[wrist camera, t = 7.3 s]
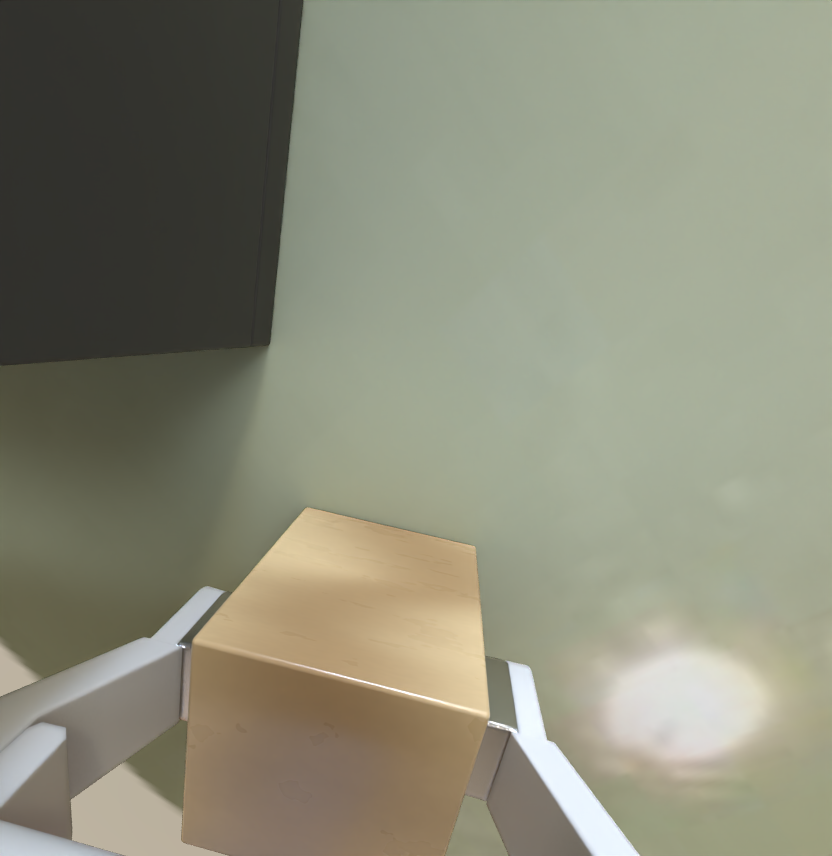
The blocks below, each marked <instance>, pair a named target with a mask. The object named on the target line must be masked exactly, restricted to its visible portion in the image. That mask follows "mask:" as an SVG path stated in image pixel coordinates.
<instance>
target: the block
mask: <svg viewBox="0 0 832 856" xmlns="http://www.w3.org/2000/svg"><path fill="white" fill-rule="evenodd" d="M489 718H490V708H489V697H488V685H487V673H486V662H485V650H484V638H483V627H482V615H481V603H480V592H479V580H478V568H477V556H476V547H474V546H472V545H467V544H463V543H459V542H455V541H450V540H446V539H442V538H437V537H433V536H429V535H425V534H420V533H416V532H412V531H407V530H403V529H399V528H395V527H390V526H386V525H382V524H377V523H373V522H369V521H365V520H360V519H356V518H352V517H347V516H343V515H339V514H335V513H330V512H326V511H322V510H317V509H313V508H309V507H306V508H305V509H304V510H303V511H302V512H301V514H300V515H299V516H298V517H297V518H296V519H295V521H294V522H293V523H292V524H291V525H290V526H289V528H288V529H287V530H286V531H285V532H284V533H283V535H282V536H281V537H280V538H279V539H278V540H277V542H276V543H275V544H274V545H273V546H272V547H271V549H270V550H269V551H268V552H267V553H266V554H265V556H264V557H263V558H262V559H261V560H260V561H259V563H258V564H257V565H256V566H255V567H254V568H253V570H252V571H251V572H250V573H249V574H248V575H247V577H246V578H245V579H244V580H243V581H242V582H241V584H240V585H239V586H238V587H237V588H236V589H235V591H234V592H233V593H232V594H231V595H230V596H229V598H228V599H227V600H226V601H225V602H224V603H223V604H222V606H221V607H220V608H219V609H218V610H217V611H216V613H215V614H214V615H213V616H212V617H211V618H210V620H209V621H208V622H207V623H206V624H205V625H204V627H203V628H202V629H201V630H200V631H199V632H198V634H197V635H196V636H195V637H194V639H193V641H192V648H191V667H190V685H189V704H188V723H187V741H186V760H185V779H184V797H183V816H182V835H181V840H182V842H184V843H186V844H190V845H194V846H197V847H201V848H205V849H208V850H211V851H215V852H218V853H222V854H225V855H229V856H445V854H446V850H447V847H448V844H449V841H450V838H451V835H452V832H453V829H454V826H455V823H456V820H457V817H458V813H459V810H460V807H461V804H462V801H463V798H464V795H465V792H466V789H467V786H468V783H469V779H470V776H471V773H472V770H473V767H474V764H475V761H476V758H477V755H478V752H479V749H480V746H481V742H482V739H483V736H484V733H485V730H486V727H487V724H488V721H489Z"/></svg>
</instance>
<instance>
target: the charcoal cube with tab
mask: <svg viewBox="0 0 832 856" xmlns="http://www.w3.org/2000/svg"><path fill="white" fill-rule="evenodd" d="M302 4H303V0H0V366H5V365H18V364H31V363H44V362H58V361H71V360H84V359H97V358H110V357H124V356H137V355H150V354H163V353H176V352H190V351H203V350H216V349H229V348H242V347H252V346H265V345H269V343H270V335H271V325H272V314H273V304H274V294H275V283H276V273H277V263H278V252H279V242H280V232H281V221H282V211H283V201H284V190H285V180H286V170H287V159H288V149H289V139H290V128H291V118H292V107H293V97H294V87H295V76H296V66H297V56H298V45H299V35H300V25H301V14H302Z"/></svg>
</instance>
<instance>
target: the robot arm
mask: <svg viewBox="0 0 832 856" xmlns="http://www.w3.org/2000/svg"><path fill="white" fill-rule="evenodd" d="M231 594H232V592H229V591H227V592H226V591H223V590H219V589H216V588H212V587H209V586H206V587H203V588H201V589H200V590H199V591H198V592H196V593H195V594H194V595H193V596H192V597H191V598H190V599H189V600H188V601H187V602H186V603H185V604H184V605H183V606H182V607H181V608H180V609H179V610H178V611H177V612H176V613H175V614H174V615H173V616H172V617H171V618H170V619H169V620H168V621H167V622H166V623H165V624H164V625H163V626H162V627H161V628H160V629H159V630H158V631H157V632H156V633H155V634H154V635H153V636H152V637H151V638H146V637H142V638H140V639H137V640H135V641H133V642H130V643H128V644H125V645H123V646H121V647H118V648H116V649H113V650H111V651H109V652H106V653H104V654H101V655H99V656H97V657H94V658H92V659H90V660H87V661H85V662H82V663H80V664H78V665H75V666H73V667H70V668H68V669H66V670H63V671H61V672H58V673H56V674H54V675H51V676H49V677H46V678H44V679H42V680H39V681H37V682H34V683H32V684H30V685H27V686H25V687H23V688H20V689H18V690H15V691H13V692H11V693H8V694H6V695H3V696H1V697H0V856H124V855H120V854H117V853H113V852H110V851H107V850H103V849H100V848H96V847H93V846H89V845H86V844H82V843H79V842H75V841H72V818H71V802H70V800H71V799H72V798H74V797H75V796H76V795H78V794H79V793H80V792H82V791H83V790H85V789H86V788H88V787H89V786H90V785H92V784H93V783H95V782H96V781H97V780H99V779H100V778H101V777H103V776H104V775H106V774H107V773H109V772H110V771H111V770H113V769H114V768H116V767H117V766H118V765H120V764H121V763H123V762H124V761H125V760H127V759H128V758H129V757H131V756H132V755H134V754H135V753H136V752H138V751H139V750H141V749H142V748H143V747H145V746H146V745H148V744H149V743H150V742H152V741H153V740H155V739H156V738H157V737H159V736H160V735H162V734H163V733H164V732H166V731H167V730H169V729H170V728H171V727H173V726H174V725H175V724H177V723H178V722H179V719H181V720H185V721H188V704H189V685H190V667H191V648H192V641H193V639H194V637H195V636H196V635H197V634H198V632H199V631H200V630H201V629H202V628H203V627H204V625H205V624H206V623H207V622H208V621H209V620H210V618H211V617H212V616H213V615H214V614H215V613H216V611H217V610H218V609H219V608H220V607H221V606H222V604H223V603H224V602H225V601H226V600H227V599H228V598H229V596H230V595H231ZM485 662H486V673H487V685H488V697H489V708H490V718H489V721H488V724H487V727H486V730H485V733H484V736H483V739H482V742H481V746H480V749H479V752H478V755H477V758H476V761H475V764H474V767H473V770H472V773H471V776H470V779H469V783H468V786H467V789H466V792H465V795H467V796H471V797H474V798H477V799H481V800H484V801H487V803H486V805H487V807H488V809H489V811H490V814H491V816H492V818H493V820H494V823H495V825H496V827H497V829H498V832H499V834H500V836H501V838H502V841H503V843H504V845H505V848H506V850H507V852H508V854H509V856H640V855H639V854H638V852H637V851H636V850H635V848H634V847H633V846H632V844H631V843H630V842H629V840H628V839H627V838H626V836H625V835H624V834H623V832H622V831H621V830H620V829H619V827H618V826H617V825H616V823H615V822H614V821H613V819H612V818H611V817H610V815H609V814H608V813H607V811H606V810H605V809H604V807H603V806H602V805H601V803H600V802H599V801H598V799H597V798H596V797H595V795H594V794H593V793H592V791H591V790H590V789H589V787H588V786H587V785H586V783H585V782H584V781H583V780H582V778H581V777H580V776H579V774H578V773H577V772H576V770H575V769H574V768H573V766H572V765H571V764H570V762H569V761H568V760H567V758H566V757H565V756H564V754H563V753H562V752H561V750H560V749H559V748H558V746H557V745H556V744H555V743H554V742H550V741H547V737H546V733H545V728H544V724H543V719H542V715H541V711H540V706H539V702H538V697H537V693H536V688H535V684H534V680H533V675H532V671H531V669H530V667H529V666H528V665H523V664H519V663H515V662H510V661H504V660H501V659H497V658H492V657H488V656H485Z"/></svg>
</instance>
